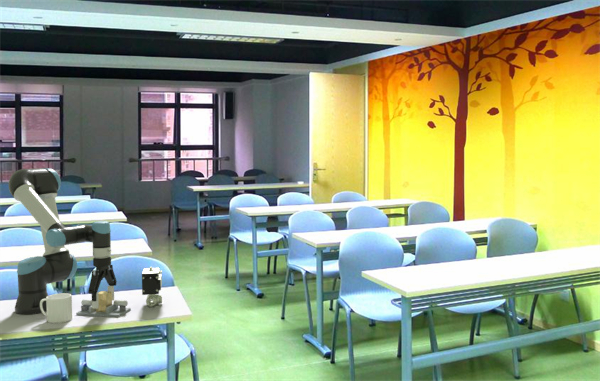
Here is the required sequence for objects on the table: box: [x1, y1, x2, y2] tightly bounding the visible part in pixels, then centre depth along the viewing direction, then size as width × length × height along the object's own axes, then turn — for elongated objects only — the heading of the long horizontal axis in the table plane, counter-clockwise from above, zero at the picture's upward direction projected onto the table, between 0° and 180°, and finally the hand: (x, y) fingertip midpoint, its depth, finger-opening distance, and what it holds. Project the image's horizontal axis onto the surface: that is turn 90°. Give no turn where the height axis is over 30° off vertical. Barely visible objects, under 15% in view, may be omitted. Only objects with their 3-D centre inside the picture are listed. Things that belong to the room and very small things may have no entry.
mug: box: [40, 292, 73, 324], centre depth 250 cm, size 13×10×10 cm
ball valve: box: [141, 266, 163, 307], centre depth 273 cm, size 18×8×18 cm, turn 11°
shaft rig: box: [75, 299, 131, 318], centre depth 261 cm, size 20×11×5 cm, turn 79°
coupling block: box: [96, 290, 113, 312], centre depth 261 cm, size 5×5×8 cm
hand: (103, 304), depth 261 cm, fingers open, 13 cm apart
